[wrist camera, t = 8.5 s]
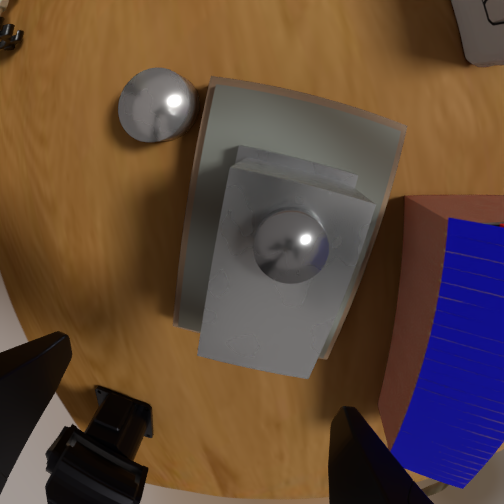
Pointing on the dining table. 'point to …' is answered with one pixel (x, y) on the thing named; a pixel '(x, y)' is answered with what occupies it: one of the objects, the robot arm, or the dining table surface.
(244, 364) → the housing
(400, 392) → the house
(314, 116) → the stand
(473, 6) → the electrical switch
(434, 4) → the dining table surface
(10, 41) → the valve
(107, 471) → the robot arm
